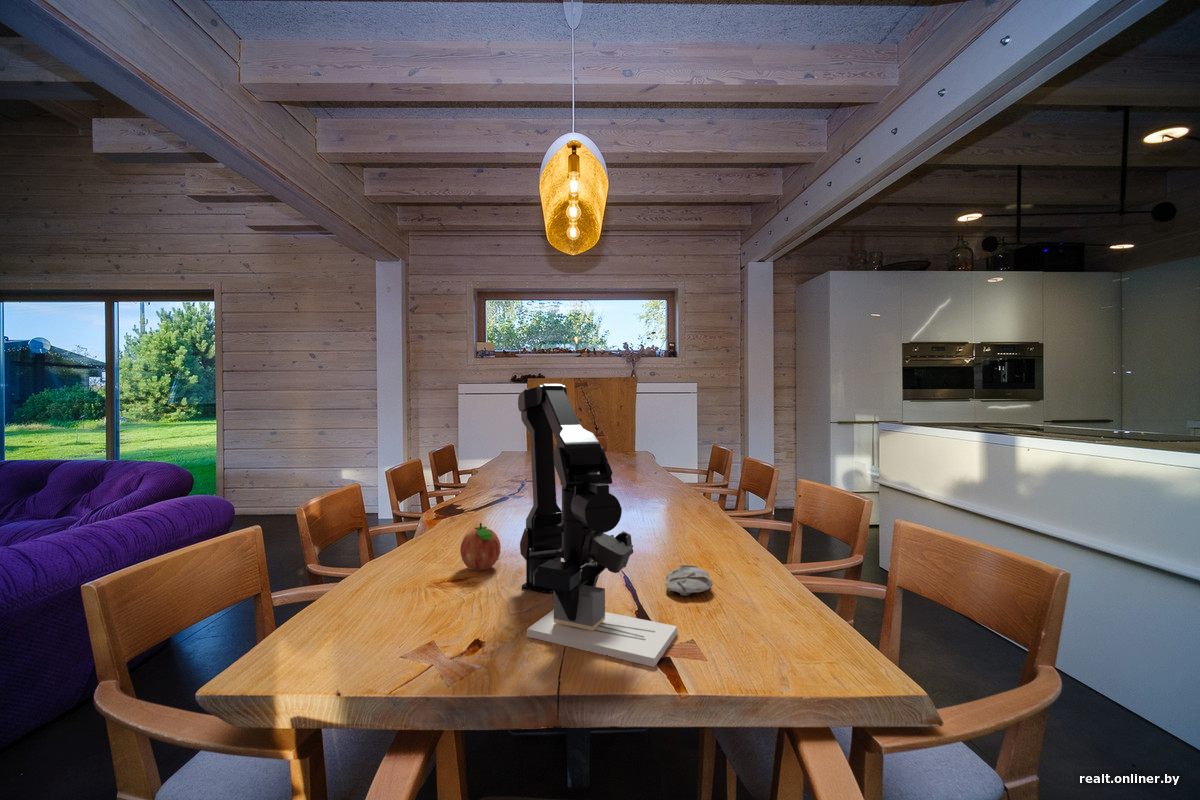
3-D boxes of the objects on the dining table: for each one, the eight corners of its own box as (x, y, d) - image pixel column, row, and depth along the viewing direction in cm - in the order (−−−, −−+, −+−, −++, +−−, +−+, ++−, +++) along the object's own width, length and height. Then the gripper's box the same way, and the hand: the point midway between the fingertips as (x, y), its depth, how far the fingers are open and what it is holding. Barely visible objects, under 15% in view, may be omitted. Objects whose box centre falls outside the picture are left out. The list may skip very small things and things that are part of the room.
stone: (715, 602, 94) (715, 584, 94) (665, 599, 95) (666, 582, 95) (707, 579, 106) (707, 563, 106) (663, 577, 106) (663, 561, 106)
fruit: (459, 577, 106) (459, 529, 106) (461, 563, 115) (461, 519, 115) (501, 574, 108) (501, 527, 108) (499, 560, 117) (499, 517, 117)
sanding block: (553, 622, 81) (553, 591, 81) (567, 611, 85) (567, 582, 85) (592, 630, 78) (592, 598, 78) (605, 619, 82) (604, 588, 82)
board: (527, 636, 79) (527, 628, 79) (561, 610, 89) (561, 603, 89) (654, 667, 70) (654, 658, 70) (677, 633, 80) (677, 626, 80)
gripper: (599, 537, 70) (599, 651, 70) (646, 510, 87) (646, 602, 87) (531, 528, 74) (531, 634, 74) (588, 505, 91) (588, 591, 91)
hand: (579, 614), depth 82 cm, fingers closed on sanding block, 4 cm apart
